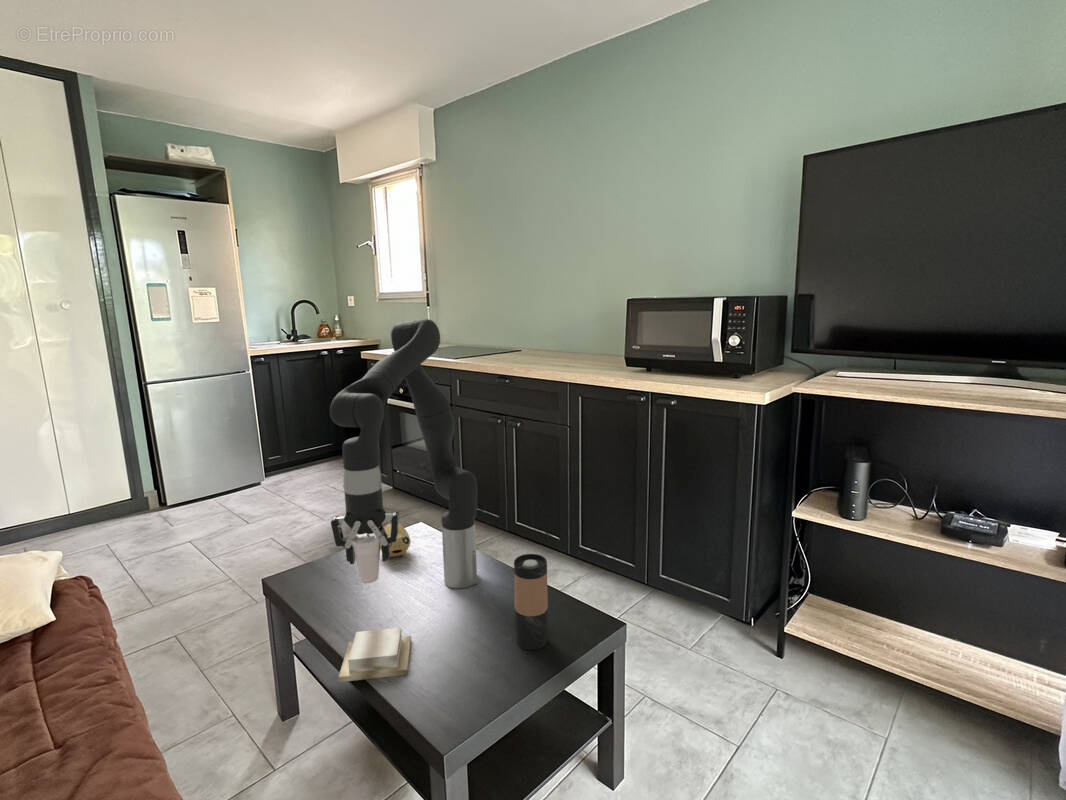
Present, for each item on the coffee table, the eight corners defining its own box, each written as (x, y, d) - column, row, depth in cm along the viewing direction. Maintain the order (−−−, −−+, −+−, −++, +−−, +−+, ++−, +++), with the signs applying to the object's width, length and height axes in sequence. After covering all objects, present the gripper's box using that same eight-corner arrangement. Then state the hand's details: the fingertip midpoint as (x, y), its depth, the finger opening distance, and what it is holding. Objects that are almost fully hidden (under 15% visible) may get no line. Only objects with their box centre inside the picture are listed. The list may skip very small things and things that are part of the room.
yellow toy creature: (382, 567, 161) (380, 534, 159) (377, 551, 172) (375, 520, 170) (415, 561, 165) (413, 529, 163) (408, 545, 176) (406, 515, 174)
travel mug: (552, 634, 127) (551, 556, 124) (542, 654, 120) (541, 571, 117) (522, 628, 130) (520, 551, 126) (510, 647, 123) (508, 566, 119)
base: (411, 640, 126) (410, 624, 125) (407, 674, 114) (406, 656, 113) (349, 646, 124) (348, 630, 123) (338, 682, 112) (337, 664, 111)
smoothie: (391, 575, 117) (387, 514, 115) (370, 589, 111) (365, 525, 109) (368, 569, 120) (364, 510, 117) (347, 582, 114) (342, 520, 112)
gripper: (400, 479, 117) (404, 551, 120) (331, 483, 115) (337, 556, 118) (396, 490, 109) (401, 566, 112) (323, 495, 107) (329, 572, 110)
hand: (368, 561), depth 115 cm, fingers closed on smoothie, 6 cm apart
